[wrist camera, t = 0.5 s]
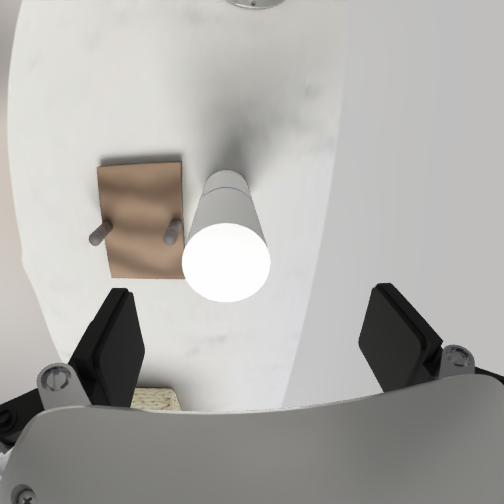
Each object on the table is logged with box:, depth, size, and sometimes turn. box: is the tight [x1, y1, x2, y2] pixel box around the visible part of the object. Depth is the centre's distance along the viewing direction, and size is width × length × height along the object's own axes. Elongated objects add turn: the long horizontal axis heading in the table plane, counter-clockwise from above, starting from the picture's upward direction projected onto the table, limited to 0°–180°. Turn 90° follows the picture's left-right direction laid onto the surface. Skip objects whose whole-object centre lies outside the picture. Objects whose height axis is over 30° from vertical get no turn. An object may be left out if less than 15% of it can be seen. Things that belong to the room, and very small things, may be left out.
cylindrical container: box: [182, 170, 270, 302], centre depth 35 cm, size 7×7×25 cm
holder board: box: [89, 161, 186, 279], centre depth 44 cm, size 20×14×8 cm
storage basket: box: [130, 388, 182, 411], centre depth 61 cm, size 24×16×15 cm
